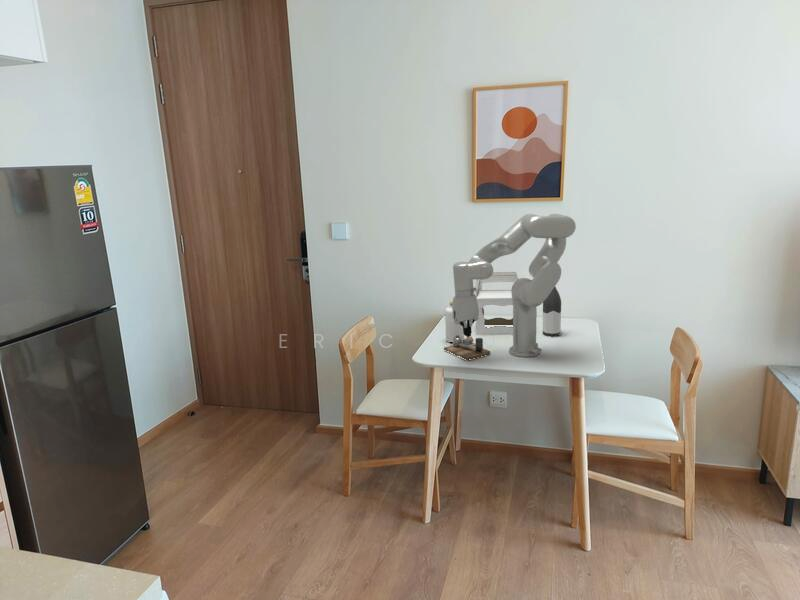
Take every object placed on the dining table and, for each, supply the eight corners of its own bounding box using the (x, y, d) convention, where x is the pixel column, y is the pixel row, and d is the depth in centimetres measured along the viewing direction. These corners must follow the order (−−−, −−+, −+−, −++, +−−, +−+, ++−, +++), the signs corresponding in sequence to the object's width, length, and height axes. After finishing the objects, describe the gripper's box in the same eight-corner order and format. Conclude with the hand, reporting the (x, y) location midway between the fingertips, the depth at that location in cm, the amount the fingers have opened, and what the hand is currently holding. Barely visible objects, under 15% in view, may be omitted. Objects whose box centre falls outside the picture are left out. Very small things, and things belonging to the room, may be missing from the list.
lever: (451, 344, 245) (451, 333, 244) (457, 342, 247) (457, 331, 246) (479, 352, 234) (479, 340, 233) (485, 349, 237) (485, 338, 235)
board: (490, 354, 237) (490, 340, 236) (466, 361, 231) (466, 346, 230) (467, 344, 251) (466, 331, 249) (444, 350, 245) (443, 336, 243)
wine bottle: (558, 331, 263) (560, 268, 255) (562, 336, 255) (563, 271, 248) (541, 331, 264) (542, 268, 256) (543, 337, 256) (545, 272, 249)
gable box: (475, 334, 264) (474, 275, 257) (475, 326, 277) (474, 270, 270) (524, 334, 262) (524, 274, 255) (521, 325, 274) (522, 269, 267)
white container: (465, 338, 259) (464, 300, 255) (462, 344, 252) (461, 305, 247) (447, 337, 262) (446, 300, 257) (444, 343, 254) (443, 304, 249)
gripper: (476, 287, 233) (479, 329, 238) (443, 294, 228) (447, 337, 233) (485, 291, 226) (488, 334, 231) (451, 298, 221) (455, 342, 226)
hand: (467, 335), depth 232 cm, fingers closed
